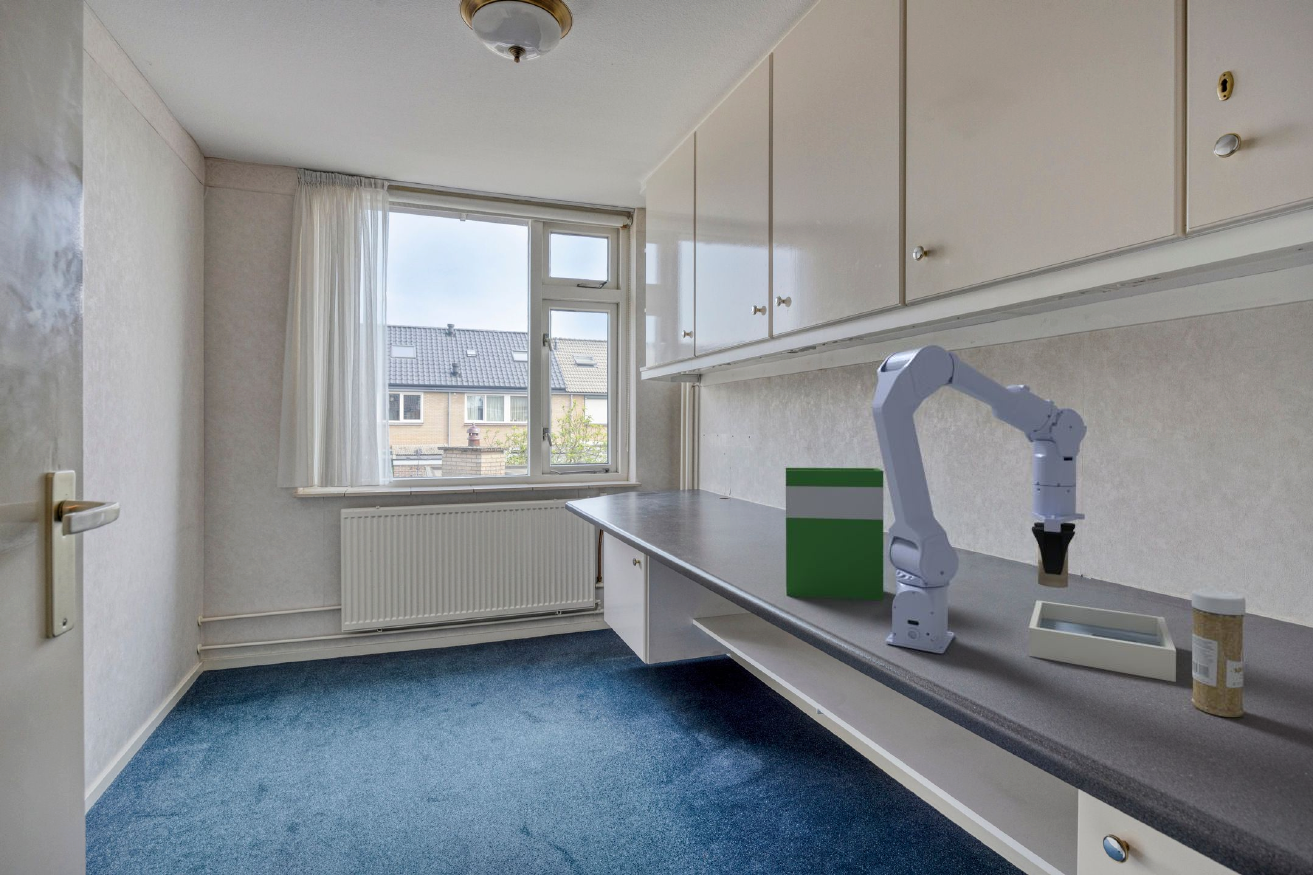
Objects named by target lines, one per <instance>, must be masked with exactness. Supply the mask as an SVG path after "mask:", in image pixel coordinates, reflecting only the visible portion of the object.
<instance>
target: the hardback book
mask: <svg viewBox="0 0 1313 875" xmlns="http://www.w3.org/2000/svg"><path fill="white" fill-rule="evenodd" d="M785 585H786V586H785V588H786V589H785V590H786V593H785V594H786V596H788V597H807V598H809V597H810V598H828V599H829V598H830V599H832V598H833V599H851V600H852V599H853V600H854V599H855V600H876V601H884V471H883V470H882V469H880V468H878V467H785Z"/></svg>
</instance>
